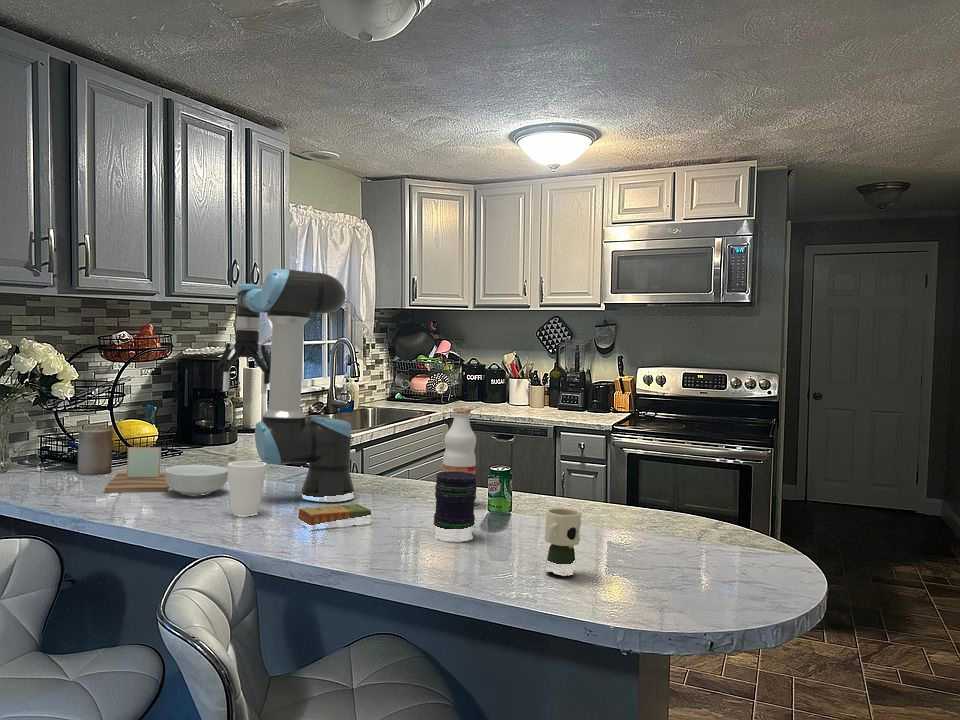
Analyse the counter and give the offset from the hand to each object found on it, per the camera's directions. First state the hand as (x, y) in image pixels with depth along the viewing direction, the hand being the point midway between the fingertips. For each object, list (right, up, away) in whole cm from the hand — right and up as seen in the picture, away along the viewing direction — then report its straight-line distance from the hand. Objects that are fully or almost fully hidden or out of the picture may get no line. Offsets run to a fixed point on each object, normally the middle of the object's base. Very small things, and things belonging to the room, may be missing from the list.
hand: (244, 392), depth 243 cm
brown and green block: (+44, -30, -65) cm, 84 cm away
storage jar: (+74, -32, -71) cm, 107 cm away
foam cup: (+20, -29, -60) cm, 69 cm away
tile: (-22, -25, -26) cm, 42 cm away
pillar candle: (-43, -25, -16) cm, 52 cm away
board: (-21, -26, -29) cm, 45 cm away
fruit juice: (+73, -31, -37) cm, 88 cm away
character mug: (+96, -33, -96) cm, 140 cm away
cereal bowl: (-1, -27, -38) cm, 47 cm away
